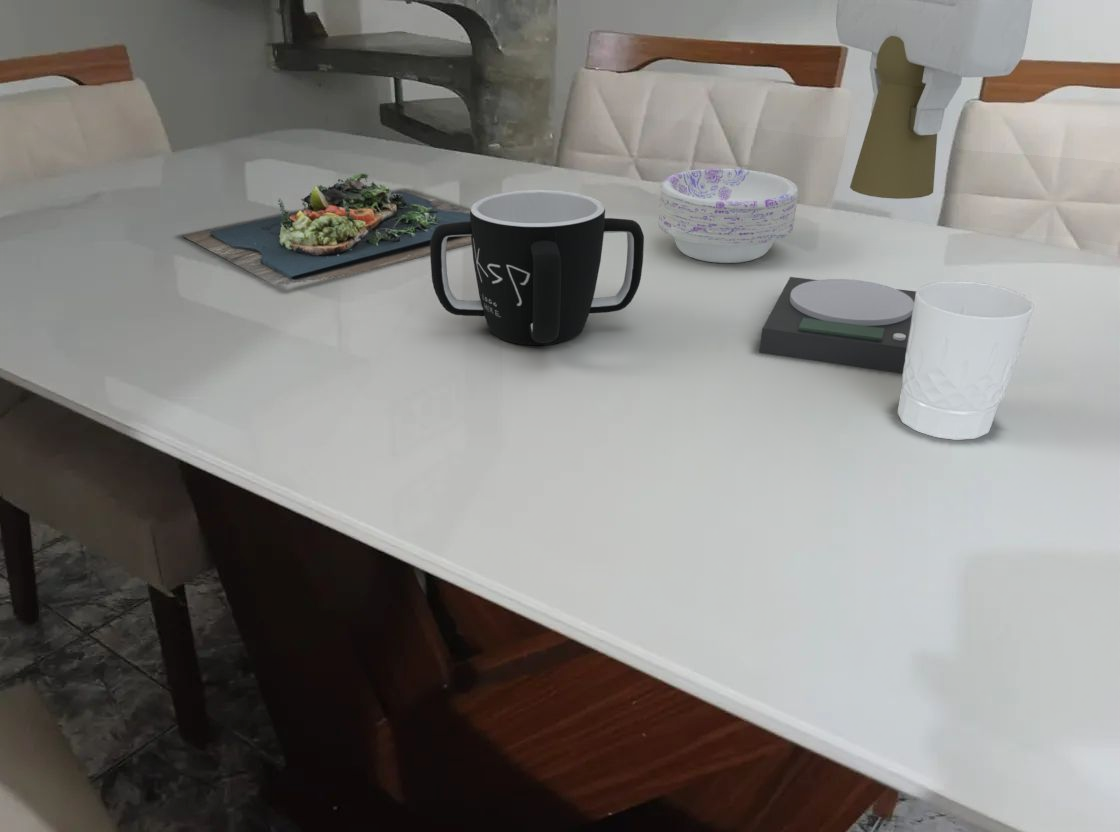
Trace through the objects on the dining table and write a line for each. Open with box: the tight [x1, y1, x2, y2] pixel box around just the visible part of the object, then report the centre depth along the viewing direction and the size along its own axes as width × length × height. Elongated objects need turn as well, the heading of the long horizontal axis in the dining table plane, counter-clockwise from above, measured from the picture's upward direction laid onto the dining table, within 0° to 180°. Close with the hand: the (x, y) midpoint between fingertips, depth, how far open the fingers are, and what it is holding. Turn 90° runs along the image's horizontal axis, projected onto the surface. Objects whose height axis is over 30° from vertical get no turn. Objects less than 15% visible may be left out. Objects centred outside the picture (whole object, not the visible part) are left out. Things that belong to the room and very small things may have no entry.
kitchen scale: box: [758, 276, 917, 375], centre depth 90 cm, size 15×13×3 cm
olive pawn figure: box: [849, 36, 938, 200], centre depth 71 cm, size 6×6×11 cm
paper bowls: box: [658, 167, 800, 264], centre depth 111 cm, size 15×15×8 cm
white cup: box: [897, 280, 1035, 441], centre depth 73 cm, size 8×8×10 cm
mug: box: [429, 189, 645, 346], centre depth 90 cm, size 16×16×12 cm
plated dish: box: [181, 172, 472, 287], centre depth 121 cm, size 35×28×7 cm
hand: (903, 125), depth 72 cm, fingers closed on olive pawn figure, 4 cm apart
